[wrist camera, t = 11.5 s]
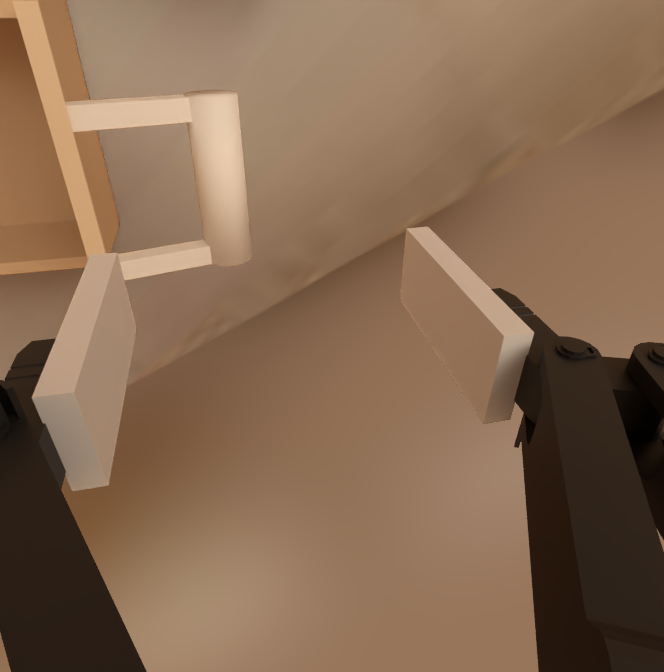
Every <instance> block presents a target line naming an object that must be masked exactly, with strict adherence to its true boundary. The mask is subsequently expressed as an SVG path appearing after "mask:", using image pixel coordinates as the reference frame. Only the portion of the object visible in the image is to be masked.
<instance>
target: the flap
mask: <svg viewBox="0 0 664 672" xmlns="http://www.w3.org/2000/svg"><path fill="white" fill-rule="evenodd" d="M12 2H13V5H14V9H15V12H16V16H17V19H18V22H19V26H20V29H21V33H22V36H23V40H24V43H25V46H26V50H27V53H28V57H29V60H30V63H31V67H32V70H33V74H34V77H35V81H36V84H37V87H38V91H39V94H40V98H41V101H42V104H43V108H44V111H45V115H46V118H47V121H48V125H49V128H50V132H51V135H52V139H53V142H54V145H55V149H56V152H57V156H58V159H59V162H60V166H61V169H62V173H63V176H64V180H65V183H66V186H67V190H68V193H69V197H70V200H71V203H72V207H73V210H74V214H75V217H76V220H77V224H78V227H79V231H80V234H81V238H82V241H83V244H84V248H85V251H86V255H87V258H88V259H89V257H90V255H94V254H106V253H107V252H106V248H105V244H104V241H103V237H102V233H101V230H100V226H99V222H98V218H97V215H96V211H95V207H94V203H93V200H92V196H91V192H90V188H89V185H88V181H87V177H86V173H85V170H84V166H83V162H82V159H81V155H80V151H79V147H78V144H77V140H76V136H75V132H79V131H91V130H103V129H115V128H127V127H139V126H150V125H162V124H174V123H186V122H187V124H188V131H189V138H190V145H191V152H192V158H193V165H194V172H195V179H196V186H197V192H198V199H199V206H200V213H201V220H202V226H203V233H204V240H198V241H192V242H186V243H180V244H174V245H168V246H162V247H156V248H151V249H145V250H139V251H133V252H127V253H121V254H118V257H119V261H120V265H121V269H122V273H123V277H124V280H130V279H135V278H140V277H146V276H151V275H156V274H161V273H167V272H172V271H177V270H183V269H188V268H193V267H199V266H204V265H209V264H214V265H218V266H235V265H240V264H243V263H245V262H247V261H249V260H250V259H251V258H252V248H251V237H250V226H249V215H248V204H247V193H246V183H245V172H244V161H243V150H242V139H241V128H240V117H239V106H238V95H237V93H236V92H232V91H224V90H205V91H194V92H189V93H185V94H180V95H164V96H148V97H133V98H117V99H101V100H86V101H70V102H66V99H65V95H64V91H63V88H62V84H61V80H60V76H59V73H58V69H57V65H56V61H55V58H54V54H53V50H52V47H51V43H50V39H49V35H48V32H47V28H46V24H45V20H44V17H43V13H42V9H41V5H40V2H39V0H15V1H12Z"/></svg>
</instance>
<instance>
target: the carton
mask: <svg viewBox="0 0 664 672" xmlns="http://www.w3.org/2000/svg"><path fill="white" fill-rule="evenodd" d="M12 1H15V0H0V275H6V274H17V273H28V272H40V271H51V270H63V269H74V268H85V267H86V264H87V262H88V258H87V255H86V251H85V248H84V244H83V241H82V238H81V234H80V231H79V227H78V224H77V220H76V217H75V214H74V210H73V207H72V203H71V200H70V197H69V193H68V190H67V186H66V183H65V180H64V176H63V173H62V169H61V166H60V162H59V159H58V156H57V152H56V149H55V145H54V142H53V139H52V135H51V132H50V128H49V125H48V121H47V118H46V115H45V111H44V108H43V104H42V101H41V98H40V94H39V91H38V87H37V84H36V81H35V77H34V74H33V70H32V67H31V63H30V60H29V57H28V53H27V50H26V46H25V43H24V40H23V36H22V33H21V29H20V26H19V22H18V19H17V16H16V12H15V9H14V5H13V2H12ZM39 2H40V5H41V9H42V13H43V17H44V20H45V24H46V28H47V32H48V35H49V39H50V43H51V47H52V50H53V54H54V58H55V61H56V65H57V69H58V73H59V76H60V80H61V84H62V88H63V91H64V95H65V99H66V102H70V101H86V100H90V98H89V94H88V90H87V85H86V81H85V77H84V73H83V69H82V65H81V61H80V57H79V53H78V48H77V44H76V40H75V36H74V32H73V28H72V24H71V20H70V16H69V11H68V7H67V3H66V0H39ZM75 136H76V140H77V144H78V147H79V151H80V155H81V159H82V162H83V166H84V170H85V173H86V177H87V181H88V185H89V188H90V192H91V196H92V200H93V203H94V207H95V211H96V215H97V218H98V222H99V226H100V230H101V233H102V237H103V241H104V244H105V248H106V252H107V253H110V252H111V249H112V246H113V243H114V240H115V237H116V234H117V231H118V228H119V225H120V221H119V217H118V213H117V209H116V205H115V201H114V197H113V192H112V188H111V184H110V180H109V176H108V172H107V168H106V164H105V160H104V155H103V151H102V147H101V143H100V139H99V135H98V131H97V130H91V131H79V132H75Z"/></svg>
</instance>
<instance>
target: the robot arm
mask: <svg viewBox="0 0 664 672" xmlns="http://www.w3.org/2000/svg"><path fill="white" fill-rule="evenodd" d="M400 301H401V302H402V304H403V305H404V306H405V308H406V309H407V311H408V312H409V314H410V315H411V317H412V318H413V320H414V321H415V323H416V324H417V326H418V327H419V329H420V330H421V332H422V333H423V335H424V336H425V338H426V339H427V341H428V342H429V344H430V345H431V347H432V348H433V350H434V351H435V353H436V354H437V356H438V357H439V358H440V360H441V362H442V363H443V365H444V366H445V367H446V369H447V371H448V372H449V374H450V375H451V377H452V378H453V379H454V381H455V382H456V384H457V385H458V387H459V388H460V390H461V391H462V393H463V394H464V396H465V397H466V399H467V400H468V402H469V403H470V405H471V406H472V408H473V409H474V411H475V412H476V414H477V415H478V417H479V418H480V420H481V421H482V423H483V424H486V423H493V422H499V421H505V420H510V418H511V415H512V411H513V407H514V404H515V402H516V403H517V405H518V406H519V407H520V408H521V410H522V411H523V412H524V414H523V418H522V421H521V425H520V428H519V431H518V435H517V438H516V441H515V446H514V447H517V448H518V447H519V445H520V442H521V441H522V455H523V468H524V481H525V494H526V506H527V507H526V508H527V521H528V534H529V547H530V561H531V574H532V588H533V602H534V615H535V628H536V642H537V654H538V669H539V672H664V552H663V548H662V545H661V542H660V539H659V536H658V532H657V529H658V531H659V533H660V535H661V536H662V538H663V540H664V344H663V343H653V342H647V343H640V344H638V345H636V346H635V347H634V350H633V352H632V354H631V357H630V359H626V358H612V357H602V356H601V354H600V353H599V351H598V350H597V349H596V348H595V347H593V346H592V345H591V344H589V343H587V342H585V341H582V340H580V339H576V338H572V337H560V336H558V335H557V334H555V332H553V331H552V330H551V329H550V328H549V327H548V326H547V325H546V324H545V323H544V322H543V321H542V320H541V319H540V318H539V317H537V316H536V315H534V314H533V312H532V311H531V310H530V309H529V308H528V307H525V305H524V303H522V302H521V301H520V300H519V299H518V298H517V297H516V296H515V295H513V294H511V293H509V292H507V291H504V290H503V289H501V288H497V289H490V288H489V287H488V286H487V285H486V284H485V283H484V282H483V281H482V280H481V279H480V278H479V277H478V276H477V275H476V274H475V273H474V272H473V271H472V270H471V269H470V268H469V267H468V266H467V265H466V264H465V263H464V262H463V261H462V260H461V259H460V258H459V257H458V256H457V255H456V254H455V253H454V252H453V251H452V250H451V249H450V248H449V247H448V246H447V245H446V244H445V243H444V242H443V241H442V240H441V239H440V238H439V237H438V236H437V235H436V234H435V233H434V232H432V230H430V228H429V227H419V228H406V239H405V250H404V261H403V272H402V283H401V293H400ZM136 330H137V328H136V324H135V320H134V316H133V312H132V308H131V304H130V300H129V296H128V292H127V289H126V285H125V281H124V277H123V273H122V269H121V265H120V261H119V257H118V253H106V254H94V255H90V257H89V259H88V262H87V264H86V267H85V269H84V272H83V274H82V276H81V279H80V281H79V284H78V286H77V289H76V291H75V293H74V296H73V298H72V301H71V303H70V306H69V308H68V310H67V313H66V315H65V318H64V320H63V323H62V325H61V328H60V330H59V332H58V335H57V337H56V339H47V340H38V341H32V342H31V343H29V344H28V345H27V346H26V347H25V348H24V349H23V350H21V351H20V352H19V353H18V354H17V356H16V358H15V360H14V362H13V364H12V366H11V370H9V372H8V374H7V376H6V378H5V381H3V380H0V632H1V636H2V640H3V643H4V647H5V651H6V654H7V658H8V662H9V666H10V669H11V672H146V669H145V667H144V665H143V663H142V661H141V659H140V657H139V655H138V653H137V650H136V648H135V646H134V644H133V642H132V640H131V638H130V636H129V633H128V631H127V629H126V627H125V625H124V623H123V621H122V618H121V616H120V614H119V612H118V610H117V608H116V606H115V604H114V601H113V599H112V597H111V595H110V593H109V591H108V589H107V587H106V585H105V582H104V580H103V578H102V576H101V574H100V572H99V570H98V567H97V565H96V563H95V561H94V559H93V557H92V555H91V553H90V551H89V549H88V546H87V544H86V542H85V540H84V538H83V536H82V534H81V531H80V529H79V527H78V525H77V523H76V521H75V519H74V517H73V514H72V512H71V510H70V508H69V506H68V504H67V502H66V500H65V498H64V495H63V493H62V491H61V488H62V484H63V481H64V477H65V476H66V478H67V480H68V482H69V485H70V487H71V489H72V491H77V490H82V489H89V488H95V487H101V486H107V485H109V480H110V474H111V468H112V463H113V457H114V452H115V446H116V440H117V435H118V429H119V424H120V418H121V412H122V408H123V401H124V397H125V391H126V385H127V380H128V374H129V369H130V363H131V358H132V352H133V347H134V341H135V336H136ZM656 528H657V529H656Z"/></svg>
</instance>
